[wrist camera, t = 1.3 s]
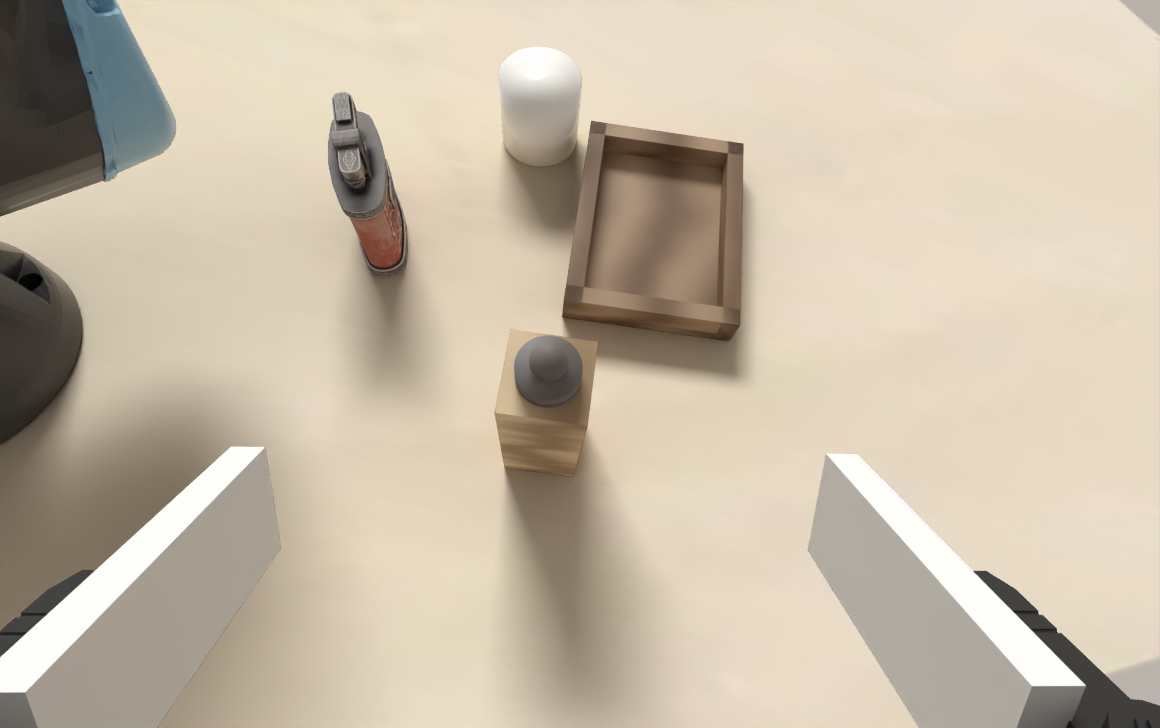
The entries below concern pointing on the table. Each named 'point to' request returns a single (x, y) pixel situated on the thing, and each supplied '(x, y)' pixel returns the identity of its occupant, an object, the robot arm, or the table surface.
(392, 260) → the lighter
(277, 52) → the table surface
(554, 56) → the white pillar candle
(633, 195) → the tray
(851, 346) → the table surface
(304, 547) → the table surface
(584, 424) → the pepper mill
